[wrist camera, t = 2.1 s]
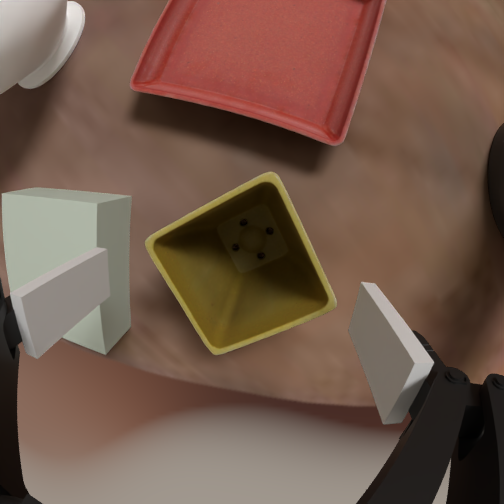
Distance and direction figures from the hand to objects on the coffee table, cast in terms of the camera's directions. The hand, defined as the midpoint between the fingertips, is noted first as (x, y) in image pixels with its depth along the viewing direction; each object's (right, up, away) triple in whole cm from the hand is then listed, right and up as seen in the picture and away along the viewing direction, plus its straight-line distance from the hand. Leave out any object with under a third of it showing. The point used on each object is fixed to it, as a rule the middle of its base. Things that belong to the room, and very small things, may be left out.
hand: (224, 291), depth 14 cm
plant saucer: (+3, +21, +6) cm, 22 cm away
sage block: (-18, +2, +14) cm, 22 cm away
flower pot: (+2, +3, +11) cm, 12 cm away
